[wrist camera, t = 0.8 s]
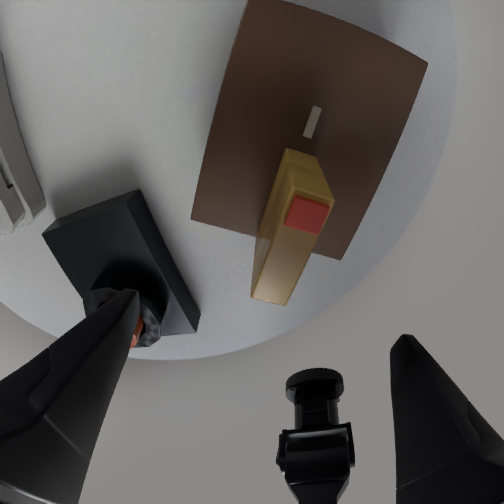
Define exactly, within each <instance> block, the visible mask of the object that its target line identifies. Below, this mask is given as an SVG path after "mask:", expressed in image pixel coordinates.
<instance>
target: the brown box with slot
mask: <svg viewBox="0 0 504 504" xmlns="http://www.w3.org/2000/svg"><path fill="white" fill-rule="evenodd" d="M427 66H428V63H427V62H426V61H424V60H423V59H421V58H419V57H418V56H416V55H414V54H412V53H411V52H409V51H407V50H405V49H403V48H401V47H400V46H398V45H396V44H394V43H392V42H390V41H388V40H386V39H384V38H382V37H380V36H378V35H375V34H373V33H371V32H369V31H367V30H364V29H362V28H360V27H358V26H355V25H353V24H350V23H348V22H345V21H343V20H340V19H338V18H335V17H332V16H330V15H327V14H324V13H321V12H318V11H315V10H312V9H309V8H306V7H303V6H300V5H296V4H293V3H289V2H286V1H282V0H248V1H247V4H246V7H245V9H244V13H243V16H242V19H241V22H240V25H239V28H238V31H237V34H236V37H235V41H234V44H233V47H232V51H231V54H230V57H229V61H228V64H227V68H226V71H225V75H224V78H223V82H222V85H221V89H220V93H219V96H218V100H217V104H216V108H215V112H214V116H213V120H212V124H211V128H210V132H209V136H208V140H207V144H206V148H205V153H204V157H203V161H202V166H201V170H200V175H199V180H198V184H197V189H196V194H195V199H194V204H193V209H192V214H191V220H194V221H198V222H201V223H205V224H209V225H213V226H217V227H220V228H224V229H228V230H232V231H235V232H239V233H243V234H247V235H250V236H254V237H256V234H257V231H258V228H259V225H260V222H261V219H262V216H263V213H264V210H265V207H266V204H267V201H268V199H269V196H270V193H271V190H272V187H273V184H274V181H275V178H276V175H277V172H278V169H279V166H280V163H281V160H282V157H283V154H284V152H285V149H286V148H290V149H293V150H296V151H299V152H303V153H306V154H309V155H312V156H315V157H316V158H317V160H318V163H319V165H320V167H321V169H322V172H323V174H324V176H325V178H326V181H327V183H328V185H329V188H330V190H331V192H332V195H333V197H334V200H335V202H334V204H333V207H332V209H331V211H330V213H329V216H328V218H327V220H326V222H325V224H324V227H323V229H322V231H321V233H320V235H319V237H318V240H317V242H316V244H315V246H314V248H313V250H312V253H316V254H319V255H323V256H327V257H330V258H334V259H337V260H341V259H342V257H343V256H344V254H345V252H346V250H347V248H348V246H349V244H350V242H351V240H352V238H353V236H354V235H355V233H356V231H357V229H358V227H359V225H360V223H361V221H362V219H363V217H364V215H365V213H366V211H367V209H368V207H369V205H370V202H371V200H372V198H373V196H374V194H375V192H376V190H377V188H378V186H379V184H380V181H381V179H382V177H383V175H384V173H385V171H386V168H387V166H388V164H389V162H390V159H391V157H392V155H393V153H394V150H395V148H396V146H397V143H398V141H399V139H400V136H401V134H402V131H403V129H404V127H405V124H406V122H407V119H408V117H409V114H410V112H411V109H412V107H413V104H414V101H415V99H416V96H417V94H418V91H419V88H420V85H421V83H422V80H423V77H424V74H425V72H426V69H427Z"/></svg>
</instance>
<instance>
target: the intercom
mask: <svg viewBox="0 0 504 504" xmlns="http://www.w3.org/2000/svg"><path fill="white" fill-rule="evenodd" d="M45 207H46V204H45V199H44V196H43V194H42V192H41V189H40V187H39V184H38V182H37V179H36V177H35V174H34V171H33V169H32V166H31V163H30V161H29V158H28V155H27V152H26V149H25V146H24V143H23V140H22V137H21V134H20V131H19V127H18V124H17V121H16V117H15V113H14V110H13V106H12V102H11V98H10V94H9V90H8V86H7V81H6V76H5V71H4V66H3V61H2V55H1V53H0V235H1V234H3V235H6V234H9V233H12V232H13V231H14V229H15V228H18V227H21V226H24V225H27V224H30V223H31V222H33V221H34V220H35V219H36V218H37V217H38V216H39V215H40V214H41V213H42V212H43V211H44V209H45Z"/></svg>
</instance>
